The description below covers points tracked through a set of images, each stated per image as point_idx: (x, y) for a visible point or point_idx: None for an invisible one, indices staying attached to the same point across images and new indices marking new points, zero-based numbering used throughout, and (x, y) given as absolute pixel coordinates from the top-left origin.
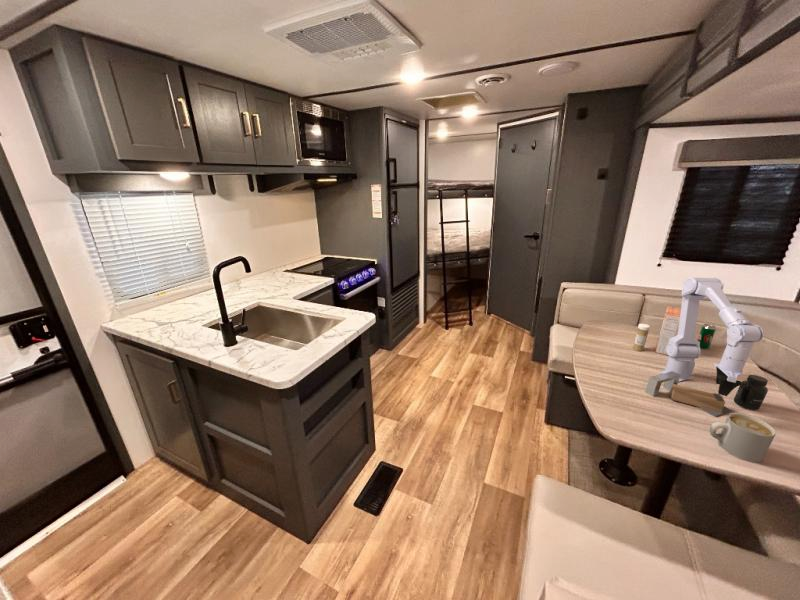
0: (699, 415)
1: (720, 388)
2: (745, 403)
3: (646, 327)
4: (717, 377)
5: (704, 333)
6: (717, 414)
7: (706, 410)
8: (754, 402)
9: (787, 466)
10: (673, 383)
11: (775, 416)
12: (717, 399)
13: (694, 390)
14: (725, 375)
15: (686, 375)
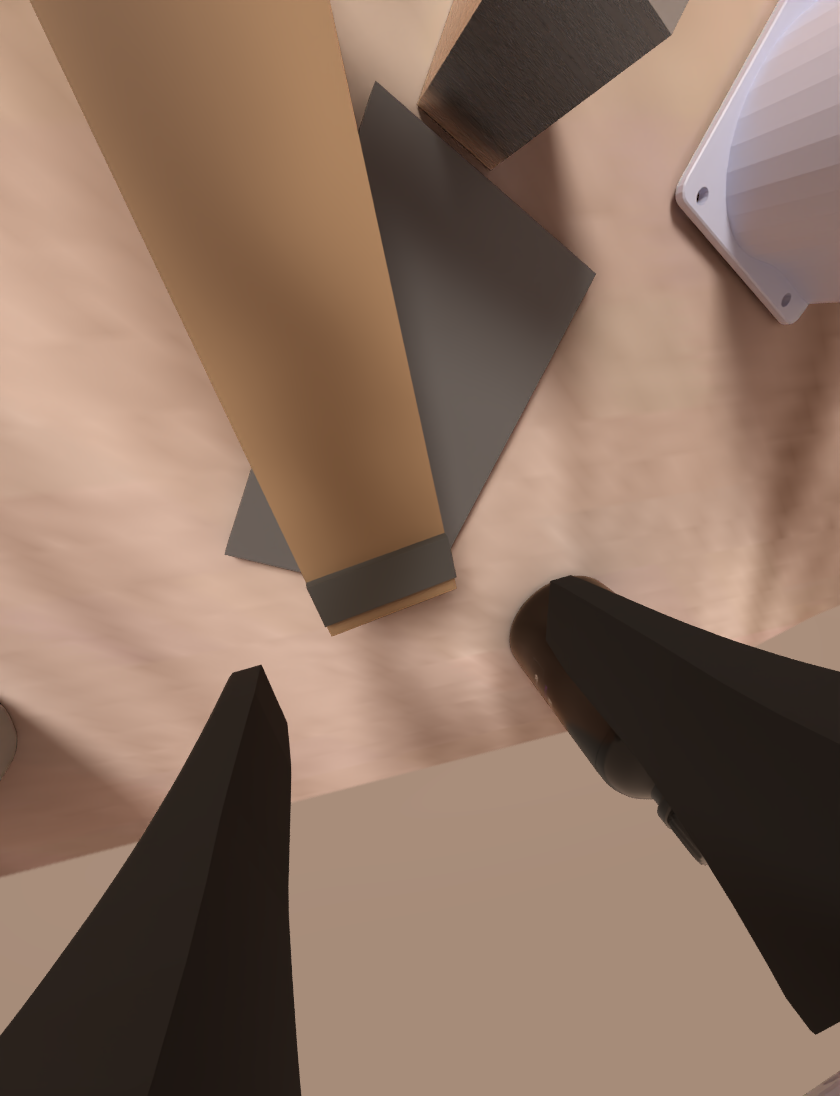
0: (105, 451)
1: (179, 791)
2: (527, 647)
3: None
4: (633, 636)
5: None
6: (259, 557)
7: (245, 488)
8: (540, 691)
9: (4, 862)
10: (471, 28)
11: (519, 707)
12: (312, 590)
13: (355, 353)
14: (681, 764)
15: (793, 255)
